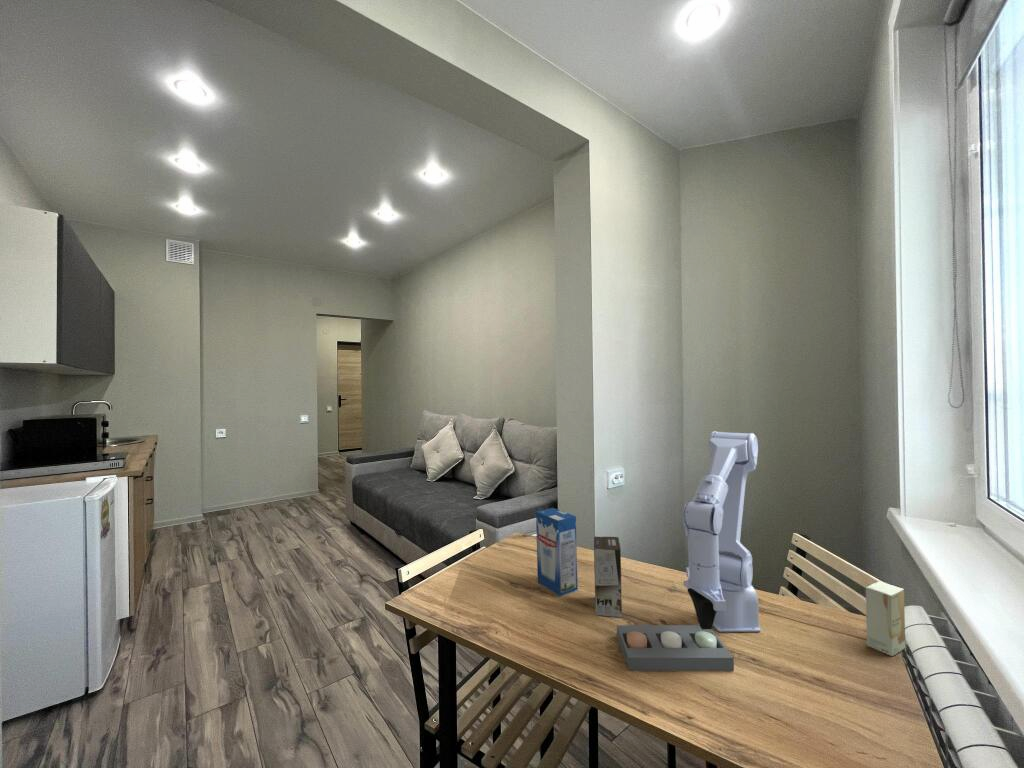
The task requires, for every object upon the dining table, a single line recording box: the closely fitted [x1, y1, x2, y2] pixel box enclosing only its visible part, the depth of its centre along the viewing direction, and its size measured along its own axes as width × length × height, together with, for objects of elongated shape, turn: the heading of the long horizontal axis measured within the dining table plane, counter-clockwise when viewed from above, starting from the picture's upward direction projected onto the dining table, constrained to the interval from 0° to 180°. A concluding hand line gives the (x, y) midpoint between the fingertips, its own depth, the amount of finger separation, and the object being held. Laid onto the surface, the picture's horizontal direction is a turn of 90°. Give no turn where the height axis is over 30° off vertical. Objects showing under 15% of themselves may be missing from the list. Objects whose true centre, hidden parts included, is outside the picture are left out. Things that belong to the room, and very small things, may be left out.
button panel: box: [616, 624, 735, 672], centre depth 86 cm, size 20×11×2 cm, turn 88°
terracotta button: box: [627, 631, 647, 648], centre depth 87 cm, size 4×4×3 cm
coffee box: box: [593, 536, 623, 618], centre depth 105 cm, size 9×6×16 cm
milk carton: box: [535, 507, 578, 597], centre depth 116 cm, size 10×6×20 cm, turn 33°
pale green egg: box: [695, 631, 717, 648], centre depth 86 cm, size 4×4×3 cm
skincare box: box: [865, 580, 906, 657], centre depth 87 cm, size 6×4×12 cm
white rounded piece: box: [661, 631, 682, 648], centre depth 86 cm, size 4×4×3 cm
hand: (705, 627), depth 86 cm, fingers closed
